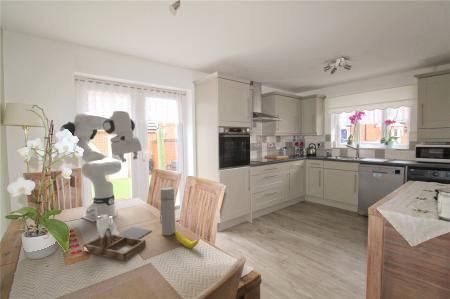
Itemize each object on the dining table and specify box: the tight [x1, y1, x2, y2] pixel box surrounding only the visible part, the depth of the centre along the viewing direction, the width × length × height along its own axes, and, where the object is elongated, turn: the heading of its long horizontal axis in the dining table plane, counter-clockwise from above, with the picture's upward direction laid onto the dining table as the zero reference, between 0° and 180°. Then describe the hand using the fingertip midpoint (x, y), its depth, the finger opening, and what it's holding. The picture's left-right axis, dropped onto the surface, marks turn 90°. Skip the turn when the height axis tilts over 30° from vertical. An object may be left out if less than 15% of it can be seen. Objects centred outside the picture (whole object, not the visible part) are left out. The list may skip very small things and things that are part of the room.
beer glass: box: [96, 214, 114, 248], centre depth 103 cm, size 7×7×15 cm
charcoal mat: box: [117, 226, 152, 239], centre depth 117 cm, size 14×12×1 cm
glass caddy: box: [83, 233, 147, 262], centre depth 102 cm, size 25×13×3 cm, turn 70°
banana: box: [174, 230, 200, 249], centre depth 102 cm, size 3×19×6 cm, turn 48°
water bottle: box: [159, 186, 176, 237], centre depth 117 cm, size 9×8×25 cm
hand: (130, 160), depth 126 cm, fingers open, 8 cm apart
